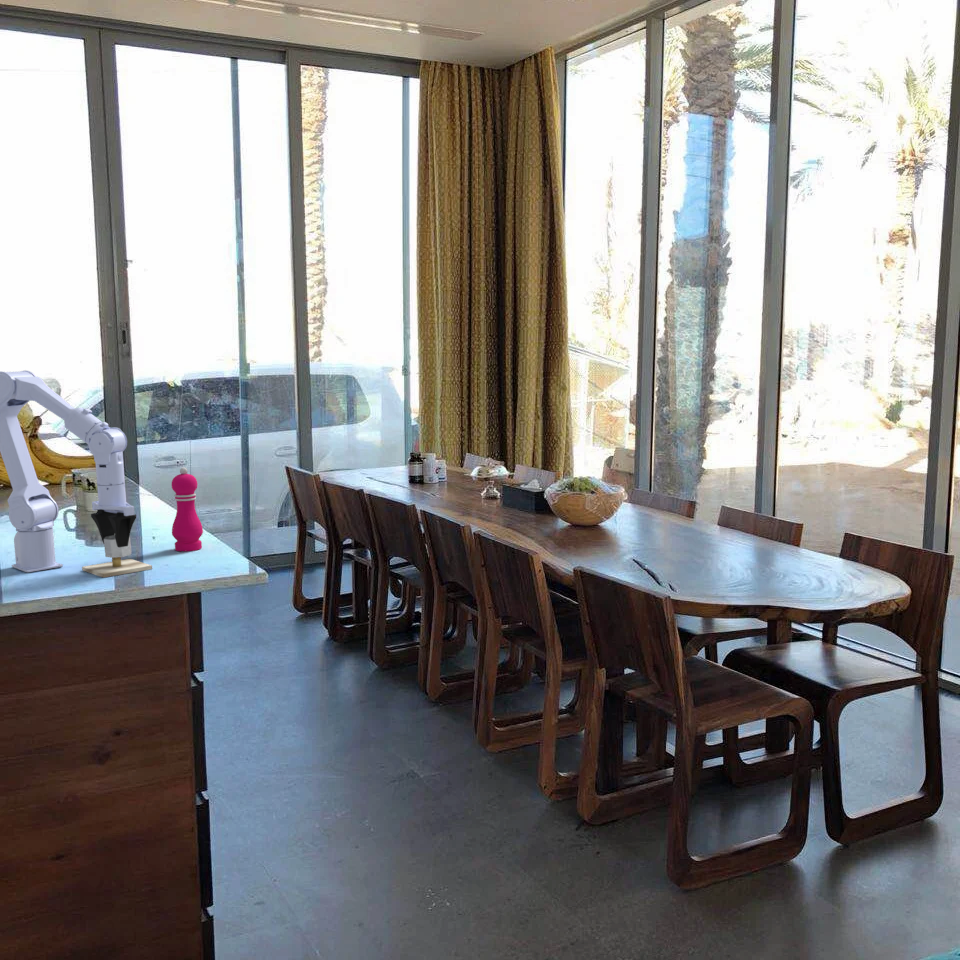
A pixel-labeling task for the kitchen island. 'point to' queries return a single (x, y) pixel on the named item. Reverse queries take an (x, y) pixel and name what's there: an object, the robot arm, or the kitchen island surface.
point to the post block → (116, 567)
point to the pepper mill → (186, 513)
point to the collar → (115, 548)
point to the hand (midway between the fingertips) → (115, 545)
